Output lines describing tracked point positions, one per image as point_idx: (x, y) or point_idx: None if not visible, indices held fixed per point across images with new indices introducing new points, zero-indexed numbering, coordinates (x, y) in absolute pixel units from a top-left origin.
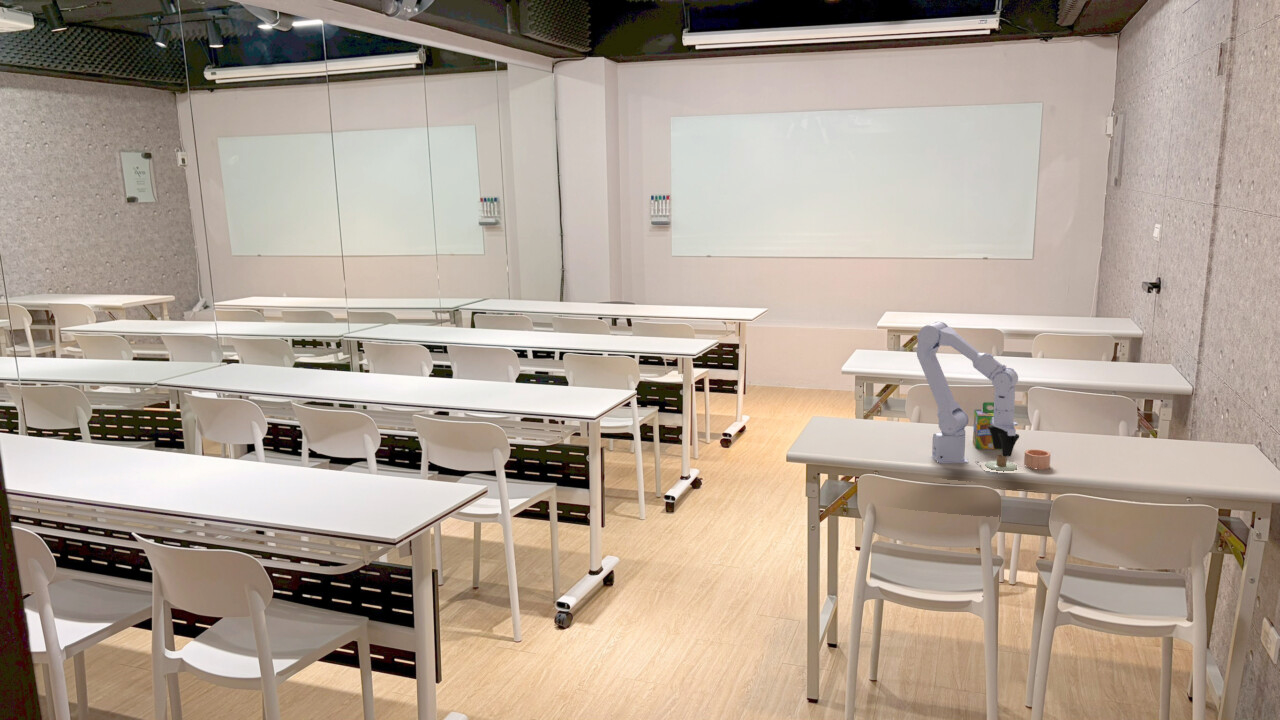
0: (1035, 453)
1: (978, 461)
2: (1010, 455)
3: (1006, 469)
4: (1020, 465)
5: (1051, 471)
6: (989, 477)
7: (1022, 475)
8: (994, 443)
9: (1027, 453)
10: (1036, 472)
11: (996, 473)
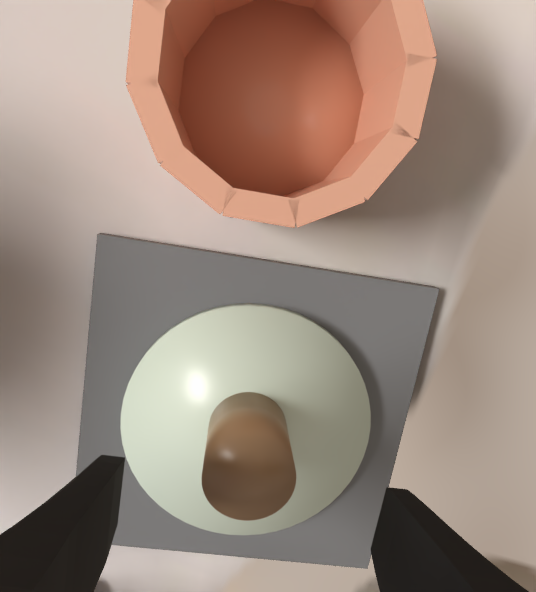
0: (171, 37)
1: None
2: (413, 498)
3: (354, 437)
4: (197, 225)
5: None
6: None
7: (433, 341)
8: (91, 583)
9: (280, 212)
10: (400, 195)
11: (374, 513)
